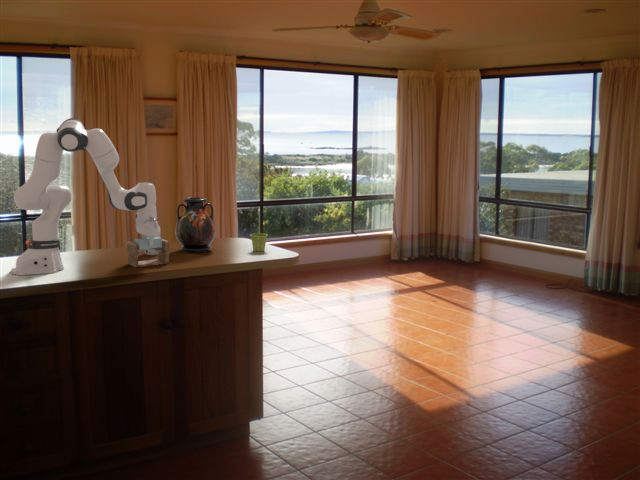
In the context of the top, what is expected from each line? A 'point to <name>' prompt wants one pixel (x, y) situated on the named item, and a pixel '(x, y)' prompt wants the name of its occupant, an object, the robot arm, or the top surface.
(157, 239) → the light blue block
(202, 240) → the amphora vase
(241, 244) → the top surface
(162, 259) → the peg frame
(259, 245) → the plant pot
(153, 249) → the supplement can
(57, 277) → the top surface
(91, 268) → the top surface
